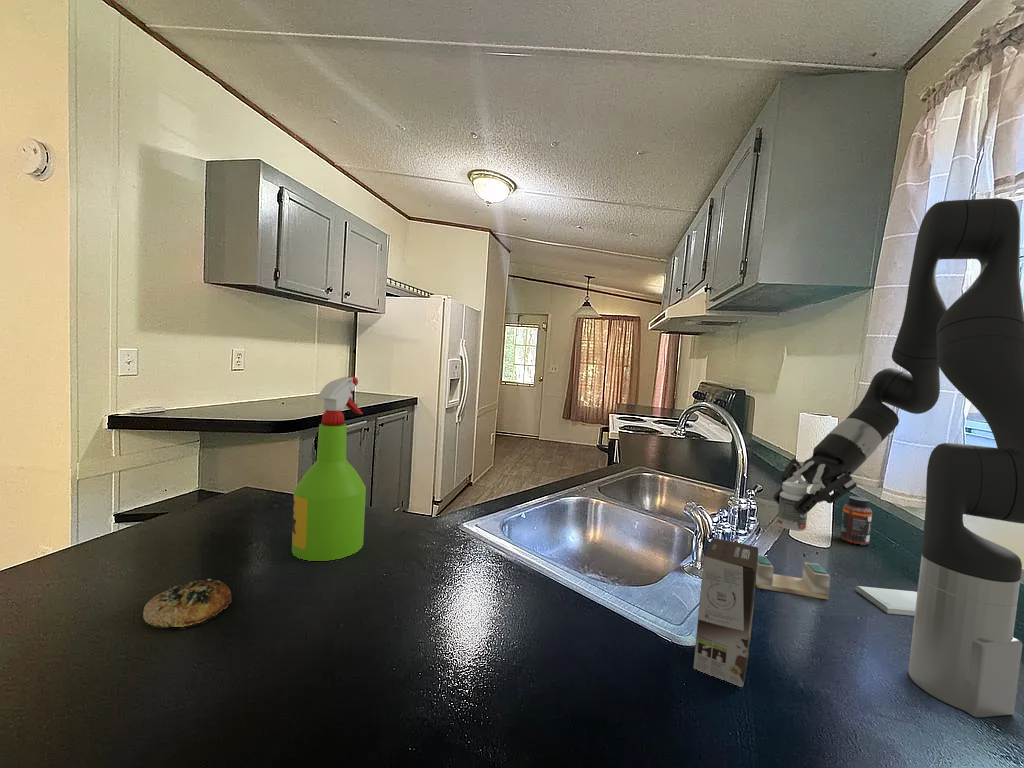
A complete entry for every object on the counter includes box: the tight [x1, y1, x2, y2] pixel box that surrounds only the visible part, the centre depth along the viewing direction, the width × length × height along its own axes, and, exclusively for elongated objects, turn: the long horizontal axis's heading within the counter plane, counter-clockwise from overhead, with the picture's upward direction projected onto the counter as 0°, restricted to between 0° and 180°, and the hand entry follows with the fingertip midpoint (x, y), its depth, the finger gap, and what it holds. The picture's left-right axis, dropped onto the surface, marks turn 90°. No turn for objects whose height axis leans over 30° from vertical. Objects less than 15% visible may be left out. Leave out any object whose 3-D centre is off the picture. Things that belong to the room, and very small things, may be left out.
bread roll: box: [142, 578, 233, 627], centre depth 67 cm, size 11×11×5 cm
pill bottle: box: [776, 481, 808, 532], centre depth 87 cm, size 5×5×8 cm
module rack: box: [755, 554, 831, 601], centre depth 88 cm, size 12×6×4 cm, turn 76°
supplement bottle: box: [840, 495, 873, 546], centre depth 115 cm, size 6×6×11 cm
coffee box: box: [692, 537, 759, 688], centre depth 63 cm, size 9×6×16 cm
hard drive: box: [855, 585, 917, 617], centre depth 84 cm, size 2×8×12 cm
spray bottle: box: [291, 375, 367, 562], centre depth 94 cm, size 14×18×35 cm
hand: (787, 506), depth 87 cm, fingers closed on pill bottle, 4 cm apart
